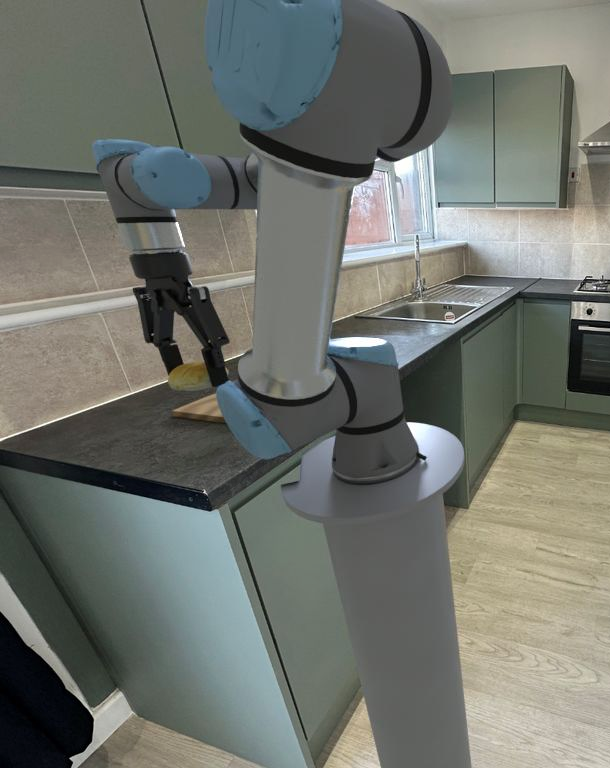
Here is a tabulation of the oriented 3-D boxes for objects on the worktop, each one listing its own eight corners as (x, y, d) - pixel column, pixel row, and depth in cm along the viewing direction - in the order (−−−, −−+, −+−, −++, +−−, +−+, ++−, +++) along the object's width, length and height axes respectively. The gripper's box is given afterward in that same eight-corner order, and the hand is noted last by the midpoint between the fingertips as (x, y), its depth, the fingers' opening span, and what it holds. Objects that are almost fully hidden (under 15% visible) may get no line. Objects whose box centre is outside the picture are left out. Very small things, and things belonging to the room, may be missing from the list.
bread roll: (200, 375, 80) (194, 355, 78) (238, 377, 77) (232, 357, 76) (157, 391, 72) (149, 369, 71) (197, 394, 70) (190, 372, 69)
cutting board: (290, 400, 103) (289, 394, 102) (242, 425, 90) (240, 419, 90) (227, 393, 108) (226, 388, 108) (174, 416, 96) (171, 410, 95)
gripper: (231, 249, 67) (265, 379, 75) (134, 251, 73) (175, 371, 81) (186, 252, 61) (228, 394, 69) (83, 254, 66) (134, 385, 74)
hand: (200, 382), depth 75 cm, fingers closed on bread roll, 9 cm apart
